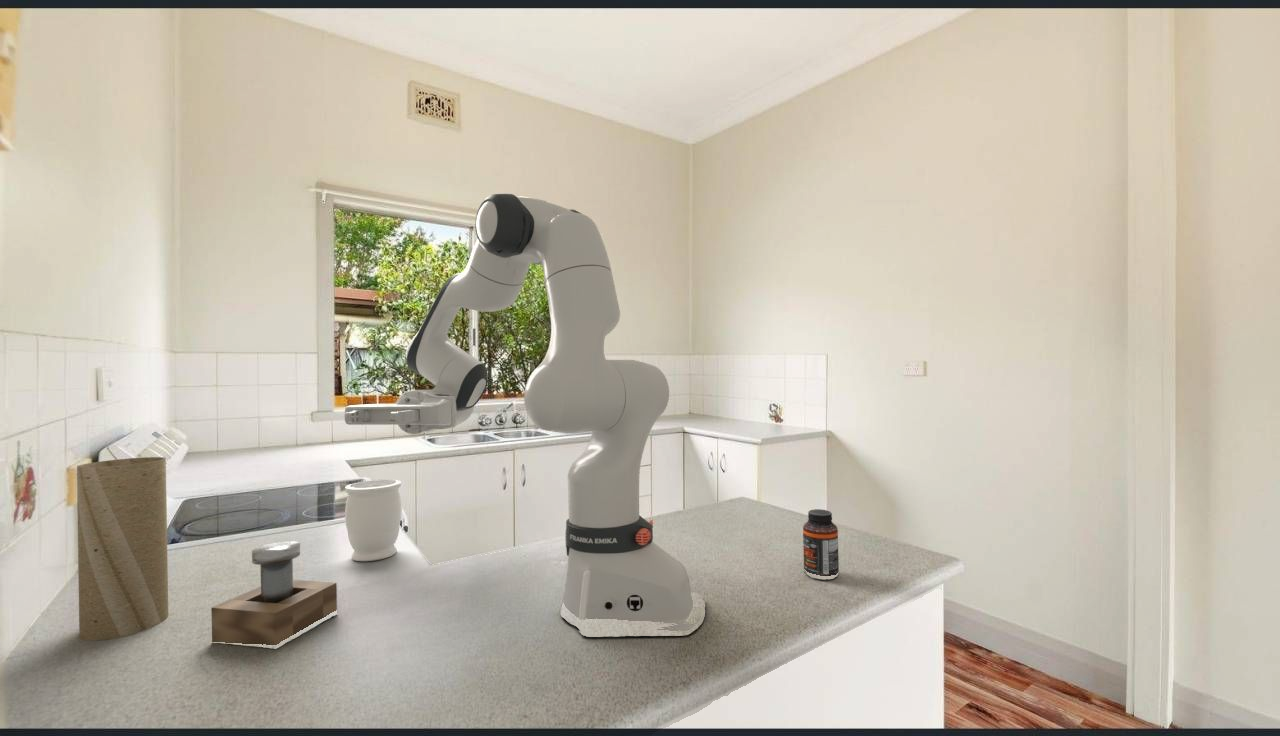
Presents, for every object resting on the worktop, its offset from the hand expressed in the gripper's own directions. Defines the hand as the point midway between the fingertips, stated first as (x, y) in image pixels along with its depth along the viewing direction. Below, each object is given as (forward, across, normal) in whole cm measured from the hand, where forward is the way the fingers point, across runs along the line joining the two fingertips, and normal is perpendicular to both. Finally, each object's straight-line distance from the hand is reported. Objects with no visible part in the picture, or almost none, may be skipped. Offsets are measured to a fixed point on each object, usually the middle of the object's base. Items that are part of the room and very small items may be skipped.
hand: (370, 417), depth 98 cm
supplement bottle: (-17, +78, +30) cm, 85 cm away
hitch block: (+17, -3, +30) cm, 35 cm away
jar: (-14, -11, +30) cm, 35 cm away
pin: (+17, -3, +30) cm, 35 cm away
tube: (+20, -28, +30) cm, 46 cm away
